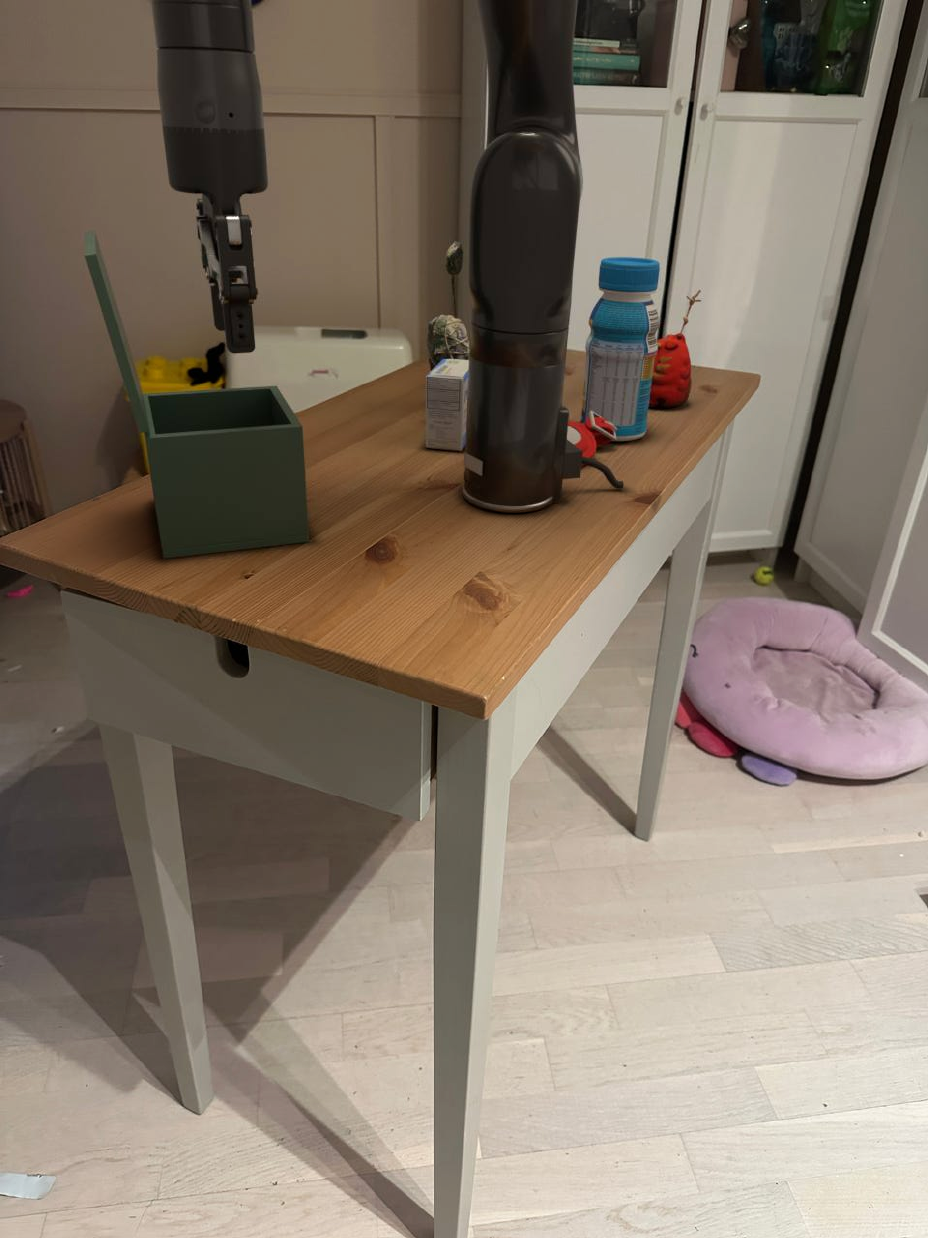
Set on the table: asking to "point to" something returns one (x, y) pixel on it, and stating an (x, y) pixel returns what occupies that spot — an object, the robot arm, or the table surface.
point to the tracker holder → (591, 434)
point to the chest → (226, 470)
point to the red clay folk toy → (672, 369)
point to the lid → (115, 329)
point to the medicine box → (447, 405)
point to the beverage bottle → (622, 345)
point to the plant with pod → (449, 321)
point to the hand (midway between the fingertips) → (234, 340)
